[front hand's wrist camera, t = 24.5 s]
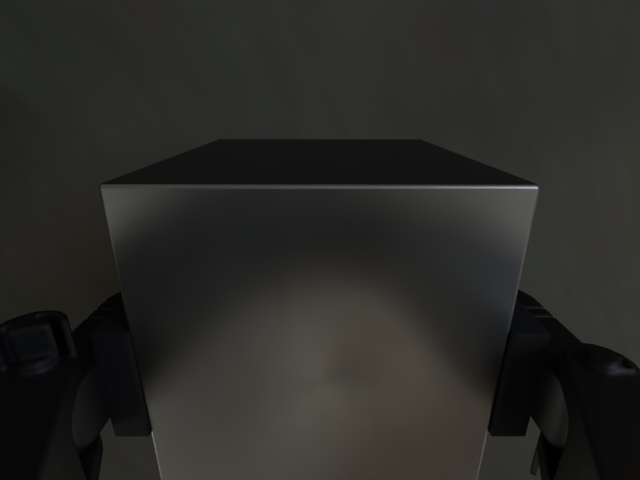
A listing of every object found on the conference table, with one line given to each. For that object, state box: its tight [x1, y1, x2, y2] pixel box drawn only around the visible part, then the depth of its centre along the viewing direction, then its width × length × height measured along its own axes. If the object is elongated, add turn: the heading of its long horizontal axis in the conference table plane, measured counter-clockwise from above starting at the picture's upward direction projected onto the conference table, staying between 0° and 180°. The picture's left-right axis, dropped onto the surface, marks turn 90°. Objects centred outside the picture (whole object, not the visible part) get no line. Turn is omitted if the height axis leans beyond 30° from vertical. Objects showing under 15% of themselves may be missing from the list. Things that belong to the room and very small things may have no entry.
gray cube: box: [99, 139, 540, 480], centre depth 12 cm, size 8×8×8 cm
